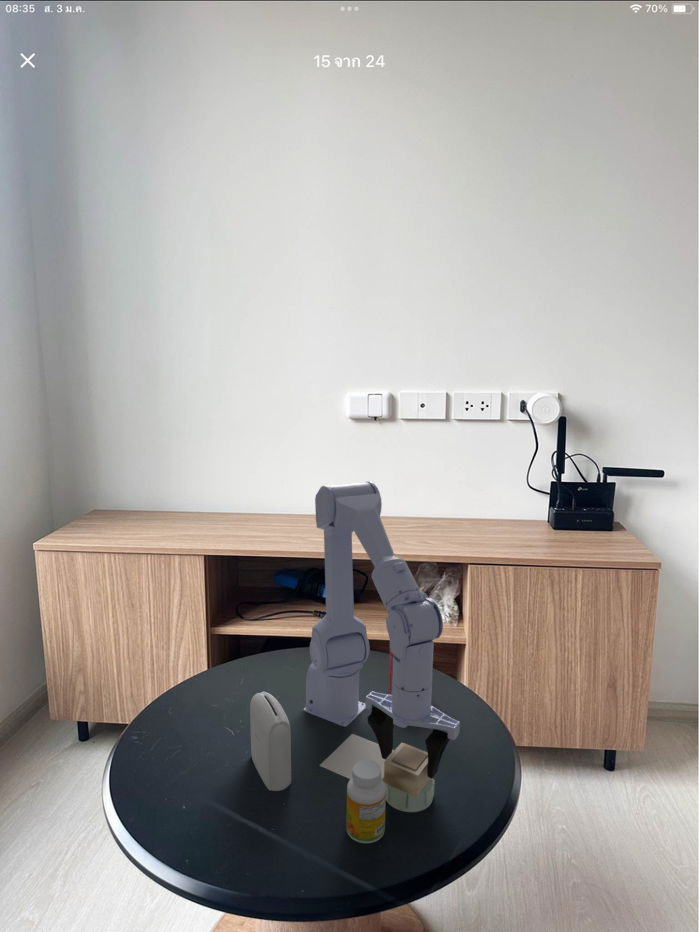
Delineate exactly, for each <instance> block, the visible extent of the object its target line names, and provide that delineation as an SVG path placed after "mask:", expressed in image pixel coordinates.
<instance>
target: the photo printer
mask: <svg viewBox="0 0 699 932" xmlns="http://www.w3.org/2000/svg"><path fill="white" fill-rule="evenodd" d="M286 713H287V712H286V711H285V710H284V708H283V706H282V704H281V703H280V702H279V701H278V700H277V698H276V697H275V696H273V695H272V694H271V693H269V692H266V691H262V692H257V693H256V694H254V695H253V696H252V698H251V700H250V703H249V720H250V722H249V723H250V725H249V726H250V753H251V754H250V755H251V758H252V762H253V765H254V767H255V769H256V771H257V773H258V775H259V776H260V778H261V781H262V782H263V783H264V785H265V787H266V788H267V790H269V791H273V792H279V791H283V790H285V789H287V788H288V787H289V786H290V785H291V784H292V753H291V751H292V750H291V746H292V745H291V744H292V743H291V739H292V738H291V734H292V733H291V724H290V721H289V719H288V716H287V714H286Z"/></svg>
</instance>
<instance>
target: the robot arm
mask: <svg viewBox="0 0 699 932" xmlns="http://www.w3.org/2000/svg"><path fill="white" fill-rule="evenodd" d="M381 497H382V496H381V492H380V490H379V488H378V487H377V485H376V484H375V483H374V481H371V480H370V481H369V480H368V481H365V482H356V483H355V482H354V483H346V484H336V485H335V484H334V485H322V486H320V487H319V489H318V491H317V493H316V494H315V499H314V506H315V522H316V528H317V529H320V530H323V541H324V542H323V547H324V550H323V551H324V577H325V579H324V582H325V610H326V611H325V612H326V613H325V615H324V616H323V617H322V618H321V619H320V620H319V621H317V623H315V625H314V626H312V628H311V639H310V643H309V655H310V660H311V664H310V665H309V667H308V669H307V672H306V677H305V707H304V708H303V711H304V712H306V713H308V714H311V715H313V716H316V717H318V718H322V719H323V720H326V721H329V722H331V723H334V724H336V725H339V726H341V727H348V726H349V725H350V724H351V723H352V722H353V721H354V720H355V719H357V717H358V716H360V714H362V713H363V712H364V711H365V710H369V711H370V714H369V715H368V716H367V723H368V725H369V726H370V728H371V729H372V731H373V733H374V735H375V737H376V740H377V744H379V748H380V752H381V756H382V758H383V759H385V760H386V759H387V758H388V756H389V755H390V754H391V753H392V750H394V749H393V747H394V727H395V726H397V727H399V728H402V729H405V728H407V727H408V726H410V727H419V728H426V729H430V730H432V732H431V733H430V734H429V735H428V736H427V737H426V739H425V742H424V743H425V746H426V752H427V753H428V767H427V775H428V777H429V778H433V779H434V777H435V776H436V775H437V773H438V772H439V767H440V763H441V759H442V757H443V753H444V752H445V749H446V747H447V745H448V743H449V742H450V740H451V741H455V740H456V739H457V737H458V736H459V734H460V727H461V722H460V721H459V720H457V719H454V718H453V717H450V716H449V715H447V714H446V713H444V712H443V711H440V710H439V709H438V708H436V707H435V706H433V705H432V693H433V691H432V687H433V670H434V669H433V664H434V662H433V661H434V646H435V644H434V643H435V641H434V640H436V639H440V637H441V636H442V634H443V632H444V631H443V630H444V623H443V621H444V620H443V617H442V613H441V610H440V608H439V605H438V604H437V602H436V601H435V600H434V599H432V598H429V596H428V595H427V593H425V592H422V591H421V589H420V587H419V585H418V583H417V581H416V579H415V578H414V575H413V573H412V571H411V569H410V568H409V566H408V563H407V562H406V561H405V559H403V558H400V557H397V556H396V555H395V553H394V550H393V548H392V545H391V542H390V539H389V536H388V534H387V532H386V529H385V525H384V524H383V522H382V518H381V513H382V505H383V504H382V498H381ZM353 532H354V534H355V535H356V537H357V539H358V540H359V542H360V544H361V545H362V547H363V549H364V551H365V553H366V554H367V556H368V558H369V559H370V562H371V563H372V564H373V566H374V568H373V570H372V572H371V579H372V582H373V584H374V586H375V588H376V590H377V593H378V594H379V597H380V599H381V601H382V604H383V605H384V608H385V611H386V613H387V617H386V618H385V623H386V624H385V625H386V630H387V633H388V638H389V649H390V648H391V652H392V653H393V682H392V695H391V694H386V693H381V692H377V691H376V692H375V691H373V690H372V691H371V692H369V693H368V694H367V695H366V696H365V702H362V701H359V698H360V697H359V695H360V692H359V691H360V690H359V689H360V688H359V687H360V686H359V685H360V670H361V669H363V666H364V665H363V663H364V662H367V660H368V658H369V657H370V651H371V649H370V648H371V647H370V641H369V638H368V633H367V626H366V625H365V623H364V622H363V621H362V619H360V618H359V617H357V616H355V614H354V611H355V607H354V575H353V573H354V572H353V569H354V568H353Z"/></svg>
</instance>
